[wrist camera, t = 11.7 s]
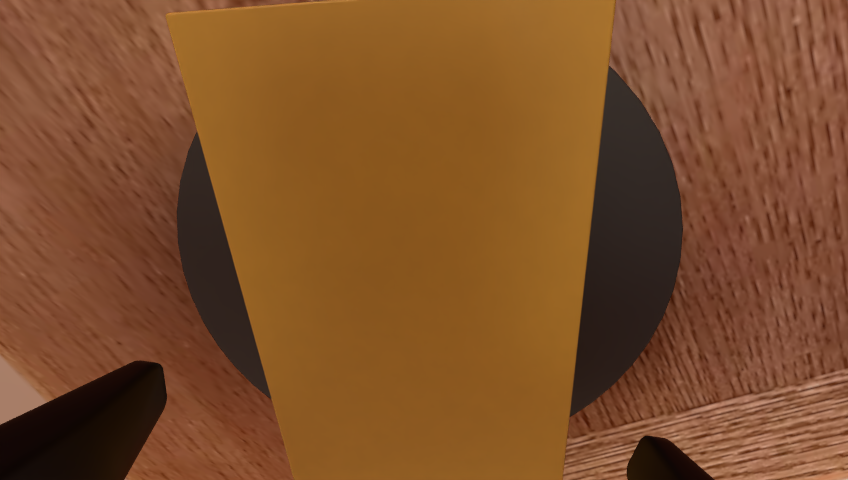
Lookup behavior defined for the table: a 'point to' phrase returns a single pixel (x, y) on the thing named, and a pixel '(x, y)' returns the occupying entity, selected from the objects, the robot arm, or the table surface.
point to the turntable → (605, 271)
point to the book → (407, 220)
